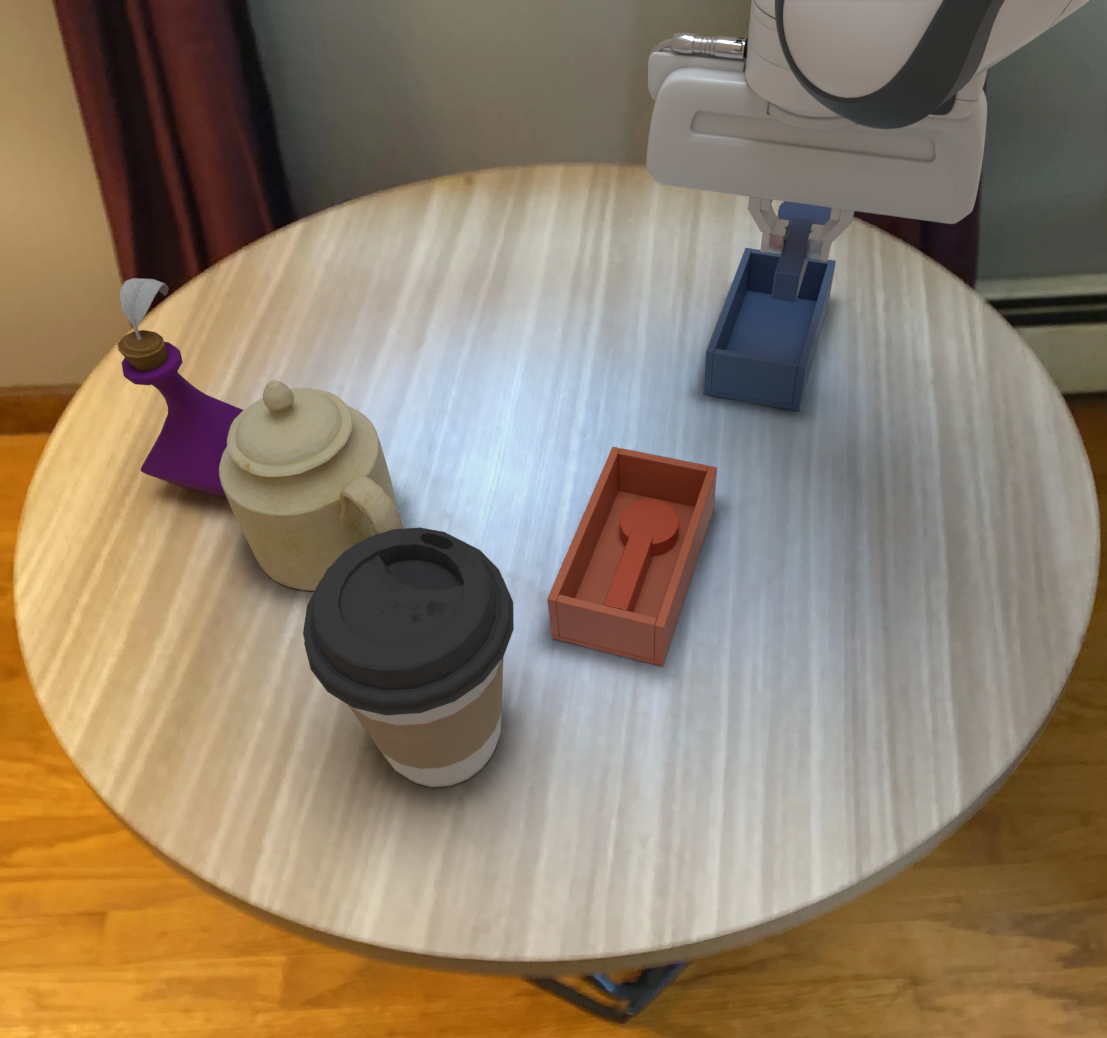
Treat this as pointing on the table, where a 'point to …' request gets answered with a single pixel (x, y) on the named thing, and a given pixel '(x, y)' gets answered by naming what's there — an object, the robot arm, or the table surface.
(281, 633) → the table surface
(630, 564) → the red spoon
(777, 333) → the blue bin
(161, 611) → the table surface
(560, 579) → the red bin
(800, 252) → the blue spoon
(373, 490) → the sugar bowl
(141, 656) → the table surface
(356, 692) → the coffee cup
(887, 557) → the table surface
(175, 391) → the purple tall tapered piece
